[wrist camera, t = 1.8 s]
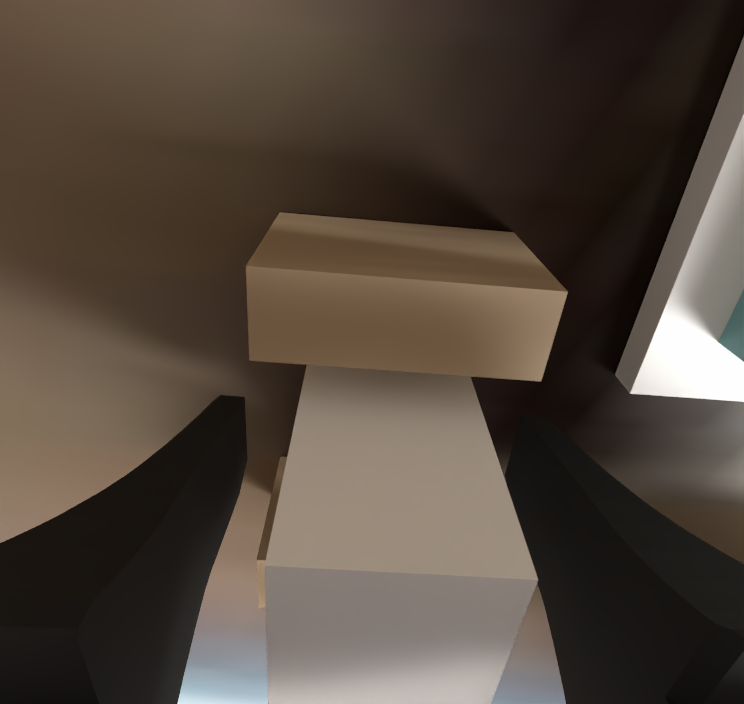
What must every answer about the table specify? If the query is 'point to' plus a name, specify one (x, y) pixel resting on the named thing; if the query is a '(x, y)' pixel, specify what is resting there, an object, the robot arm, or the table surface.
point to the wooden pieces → (397, 304)
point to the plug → (392, 546)
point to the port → (699, 275)
